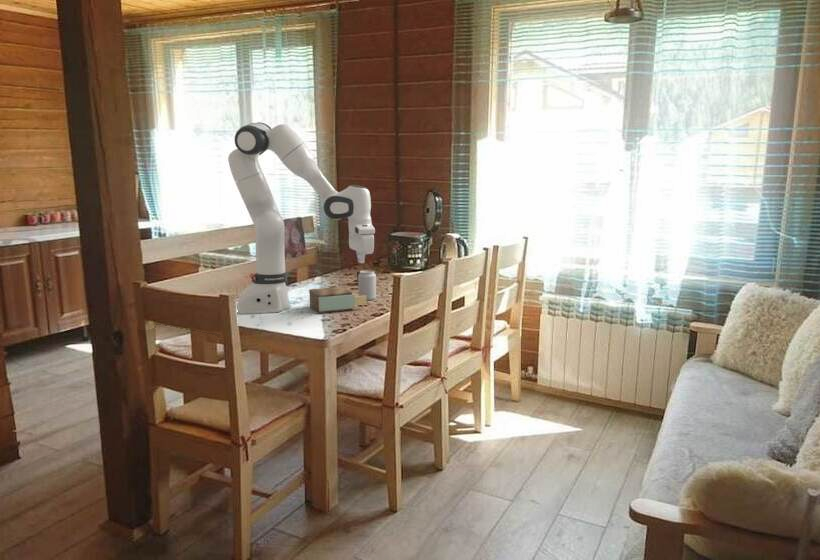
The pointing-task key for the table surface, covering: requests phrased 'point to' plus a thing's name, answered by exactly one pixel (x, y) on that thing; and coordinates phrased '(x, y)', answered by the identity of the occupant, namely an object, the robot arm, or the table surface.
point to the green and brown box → (326, 293)
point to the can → (367, 284)
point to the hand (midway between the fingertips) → (361, 262)
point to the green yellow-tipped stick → (340, 302)
